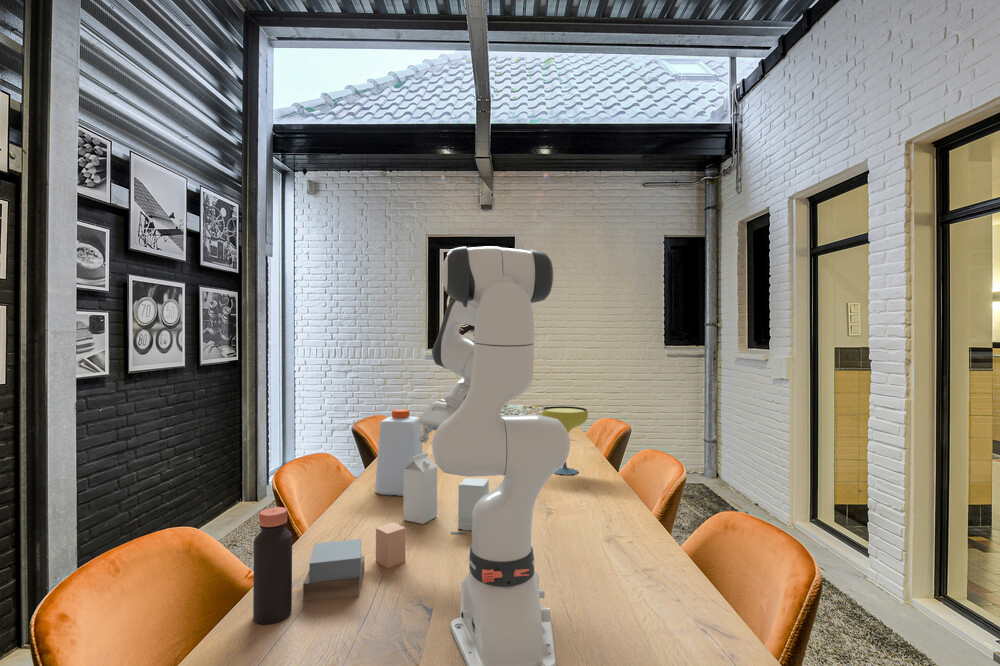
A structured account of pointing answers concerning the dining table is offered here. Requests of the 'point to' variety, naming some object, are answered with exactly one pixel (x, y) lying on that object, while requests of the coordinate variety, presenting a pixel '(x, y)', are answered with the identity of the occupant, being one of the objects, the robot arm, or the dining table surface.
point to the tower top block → (335, 561)
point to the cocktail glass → (567, 424)
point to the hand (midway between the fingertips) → (432, 444)
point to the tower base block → (333, 588)
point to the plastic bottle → (396, 451)
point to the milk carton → (420, 490)
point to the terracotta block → (390, 545)
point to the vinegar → (272, 568)
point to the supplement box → (470, 499)
